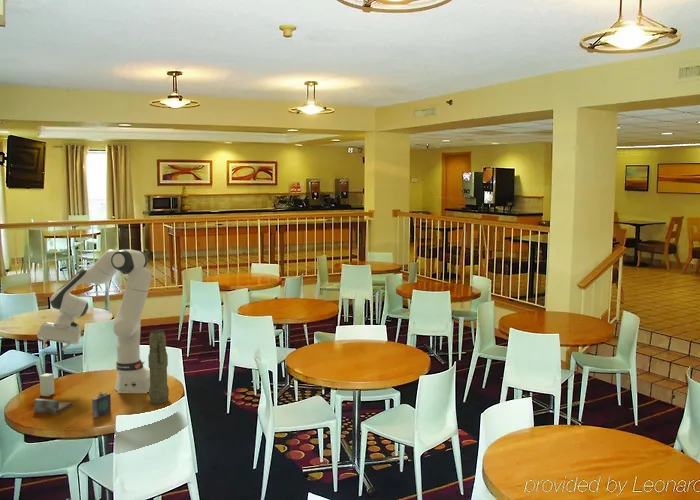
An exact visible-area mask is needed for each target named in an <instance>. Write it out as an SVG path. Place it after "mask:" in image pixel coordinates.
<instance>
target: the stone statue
mask: <svg viewBox="0 0 700 500" xmlns="http://www.w3.org/2000/svg"><path fill="white" fill-rule="evenodd" d="M148 336H149V337H148V340H149V342H148V343H149V345H148V346H149V350H148V351H149V353H148V360H147V361H148V368H149V371H150V388H149V393H148V395H149V396H148V397H149V404H151V405H164V404H167V403H168V402H169V401H168V400H169V394H170V393H169V390H170V389H169V388H170V387H169V386H168V369H167V368H168V365H169V363H168V362H169V361H168V358H169V356H168V353H167V349H166V348H167V339H166V338H167V337H166V334H165V331H164V330H162V329H154V330H152V331H151V332H150V334H149V335H148ZM166 402H167V403H166Z"/></svg>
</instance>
